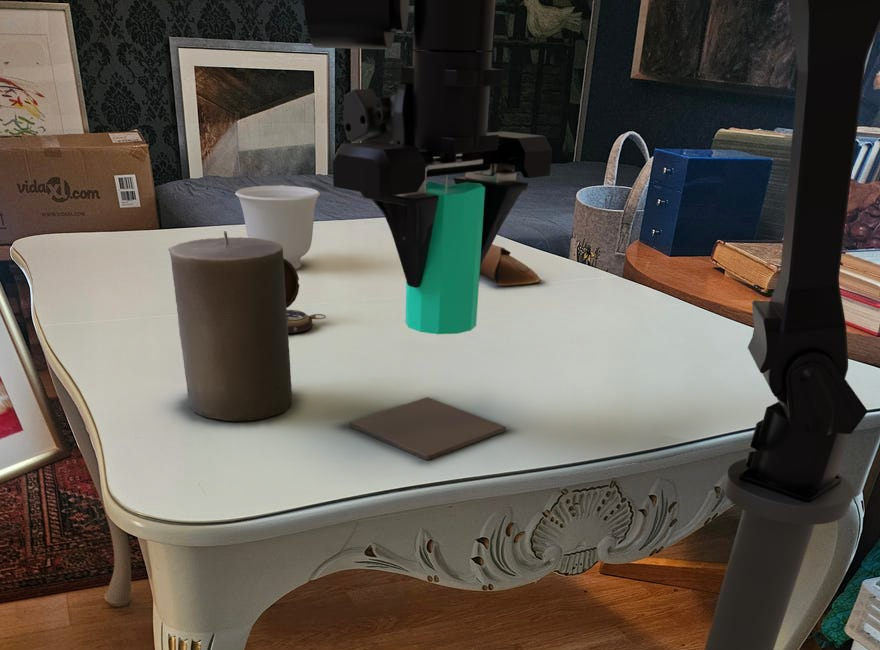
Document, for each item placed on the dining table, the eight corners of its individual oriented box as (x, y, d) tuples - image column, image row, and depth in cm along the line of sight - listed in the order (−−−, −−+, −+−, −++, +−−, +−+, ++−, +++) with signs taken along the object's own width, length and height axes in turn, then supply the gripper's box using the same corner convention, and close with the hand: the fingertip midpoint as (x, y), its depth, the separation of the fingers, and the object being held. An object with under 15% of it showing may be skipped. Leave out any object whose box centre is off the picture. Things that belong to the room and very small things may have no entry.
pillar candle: (297, 419, 79) (289, 240, 70) (188, 425, 77) (165, 243, 68) (286, 383, 86) (277, 219, 78) (186, 388, 85) (166, 220, 76)
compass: (270, 337, 99) (266, 270, 95) (250, 319, 105) (244, 255, 101) (335, 330, 102) (333, 264, 98) (311, 313, 108) (309, 250, 104)
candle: (489, 322, 74) (501, 163, 67) (451, 338, 70) (459, 170, 63) (431, 311, 77) (436, 156, 70) (391, 325, 73) (392, 163, 66)
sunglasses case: (546, 279, 123) (530, 236, 119) (507, 309, 123) (489, 268, 119) (487, 254, 137) (470, 215, 132) (451, 281, 137) (433, 243, 132)
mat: (506, 430, 77) (506, 426, 77) (427, 460, 72) (427, 456, 71) (427, 401, 83) (427, 397, 83) (348, 426, 77) (348, 422, 77)
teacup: (324, 254, 136) (322, 183, 131) (320, 276, 124) (317, 198, 119) (248, 253, 136) (242, 182, 130) (236, 274, 124) (229, 197, 118)
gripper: (460, 49, 72) (451, 250, 81) (280, 48, 62) (292, 279, 71) (566, 52, 66) (543, 271, 75) (385, 52, 55) (384, 306, 64)
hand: (442, 280), depth 71 cm, fingers closed on candle, 6 cm apart
